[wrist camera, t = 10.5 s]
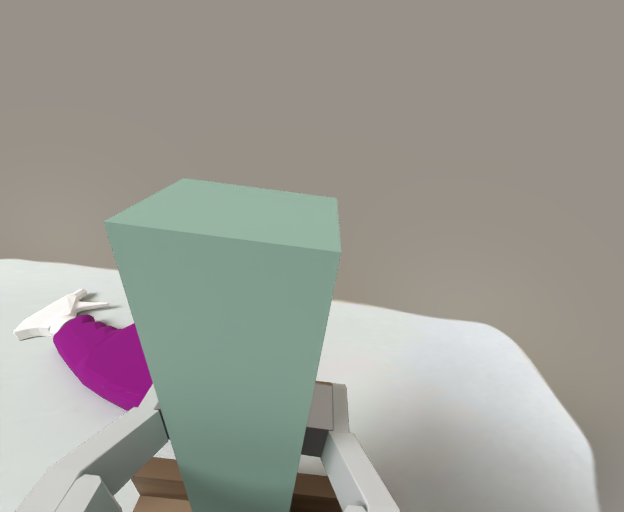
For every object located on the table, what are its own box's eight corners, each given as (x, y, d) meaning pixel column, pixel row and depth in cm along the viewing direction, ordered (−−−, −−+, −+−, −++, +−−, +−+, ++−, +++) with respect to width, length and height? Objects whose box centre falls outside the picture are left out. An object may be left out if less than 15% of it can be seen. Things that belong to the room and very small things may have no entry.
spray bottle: (208, 450, 21) (-13, 358, 26) (266, 346, 30) (94, 292, 35) (204, 431, 20) (-30, 337, 24) (266, 328, 29) (87, 274, 34)
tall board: (276, 577, 14) (341, 251, 4) (210, 570, 14) (103, 221, 4) (282, 514, 16) (336, 198, 6) (225, 507, 16) (183, 177, 6)
